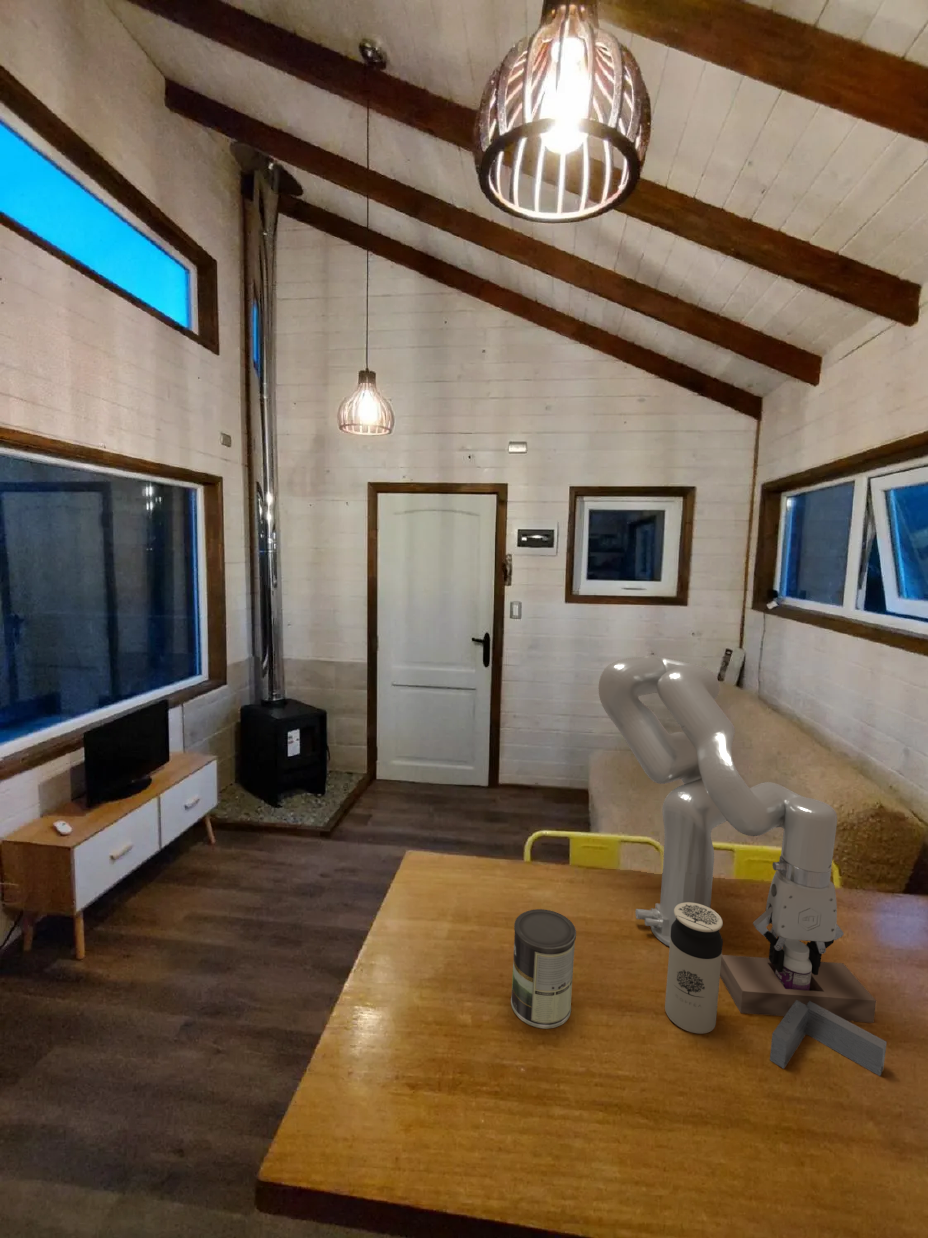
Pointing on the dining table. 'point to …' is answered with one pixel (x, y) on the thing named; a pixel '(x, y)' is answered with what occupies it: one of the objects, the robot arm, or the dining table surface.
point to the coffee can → (543, 968)
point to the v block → (826, 1037)
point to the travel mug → (694, 967)
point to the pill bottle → (795, 966)
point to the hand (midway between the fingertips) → (793, 967)
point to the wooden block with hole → (767, 996)
